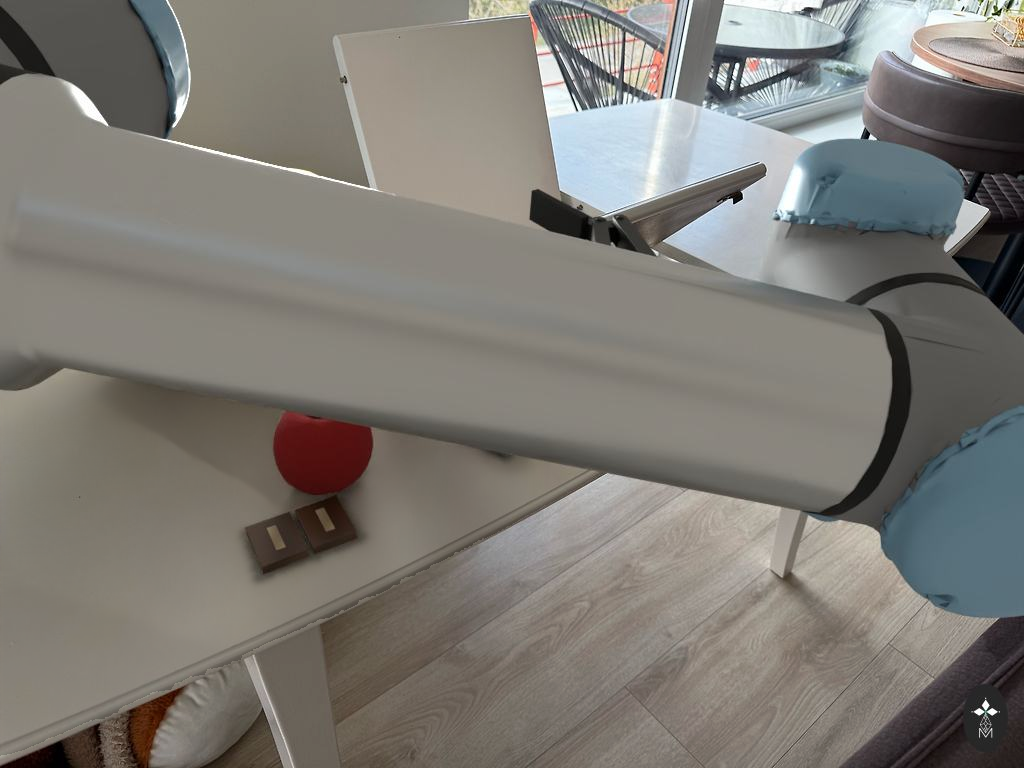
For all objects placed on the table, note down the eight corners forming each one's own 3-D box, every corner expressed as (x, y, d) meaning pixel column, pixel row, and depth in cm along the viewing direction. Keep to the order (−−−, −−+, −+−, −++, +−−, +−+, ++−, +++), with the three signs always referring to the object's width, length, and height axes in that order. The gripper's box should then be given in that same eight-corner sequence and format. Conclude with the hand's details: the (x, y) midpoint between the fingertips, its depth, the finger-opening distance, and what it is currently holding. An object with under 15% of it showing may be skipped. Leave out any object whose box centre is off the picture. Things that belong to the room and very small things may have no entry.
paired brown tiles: (263, 574, 62) (261, 566, 61) (246, 534, 65) (244, 526, 64) (357, 538, 65) (356, 529, 65) (337, 501, 69) (336, 493, 68)
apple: (341, 524, 67) (331, 442, 61) (258, 493, 69) (240, 412, 63) (391, 461, 74) (387, 382, 67) (314, 435, 76) (303, 356, 70)
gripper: (508, 457, 44) (339, 302, 57) (759, 332, 57) (576, 228, 70) (516, 355, 39) (330, 211, 52) (787, 244, 53) (585, 151, 65)
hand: (470, 221), depth 61 cm, fingers open, 13 cm apart
